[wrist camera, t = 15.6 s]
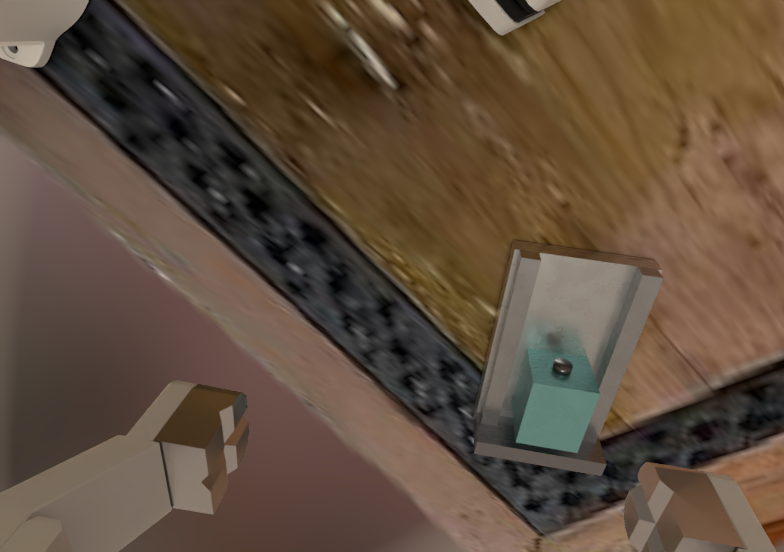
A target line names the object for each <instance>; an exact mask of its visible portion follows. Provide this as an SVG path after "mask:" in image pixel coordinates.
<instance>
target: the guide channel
mask: <svg viewBox="0 0 784 552" xmlns="http://www.w3.org/2000/svg"><path fill="white" fill-rule="evenodd" d="M661 272H662V269H661V268H660V266H659V265H658V264H657V262H656V261H655V260H654V259H647V258H640V257H633V256H626V255H619V254H612V253H605V252H598V251H590V250H583V249H576V248H569V247H562V246H555V245H548V244H541V243H534V242H527V241H519V240H513V242H512V247H511V251H510V255H509V260H508V264H507V268H506V273H505V277H504V281H503V286H502V290H501V294H500V298H499V303H498V307H497V311H496V316H495V320H494V324H493V329H492V333H491V337H490V342H489V346H488V350H487V355H486V359H485V363H484V368H483V372H482V376H481V381H480V385H479V389H478V394H477V398H476V402H475V406H474V454H480V455H485V456H491V457H497V458H502V459H508V460H514V461H519V462H525V463H531V464H536V465H542V466H548V467H553V468H559V469H565V470H570V471H576V472H582V473H587V474H593V475H599V476H602V473H603V471H604V469H605V467H606V461H605V458H604V454H603V451H602V448H601V444H600V441H599V438H598V437H599V435H600V432H601V430H602V427H603V425H604V422H605V420H606V418H607V415H608V413H609V410H610V408H611V405H612V403H613V400H614V398H615V396H616V393H617V391H618V388H619V386H620V383H621V381H622V379H623V376H624V374H625V371H626V369H627V366H628V364H629V361H630V359H631V357H632V354H633V352H634V349H635V347H636V344H637V342H638V339H639V337H640V335H641V332H642V330H643V327H644V325H645V322H646V320H647V318H648V315H649V313H650V310H651V308H652V305H653V303H654V300H655V298H656V296H657V293H658V291H659V288H660V286H661V283H662V281H663V279H664V278H663V276H662V275H661ZM527 348H533V349H539V350H546V351H552V352H558V353H565V354H571V355H577V356H584V357H588V360H589V362H590V365H591V368H592V371H593V374H594V377H595V380H596V383H597V386H598V389H599V392H600V396H599V398H598V401H597V404H596V406H595V409H594V411H593V414H592V416H591V419H590V422H589V424H588V427H587V429H586V432H585V434H584V437H583V440H582V442H581V445H580V447H579V450H578V453H574V452H568V451H563V450H557V449H551V448H545V447H539V446H534V445H528V444H522V443H516V441H515V432H514V422H513V413H512V401H513V397H514V394H515V390H516V386H517V383H518V379H519V376H520V372H521V368H522V365H523V361H524V358H525V354H526V350H527Z"/></svg>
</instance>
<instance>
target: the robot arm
mask: <svg viewBox="0 0 784 552" xmlns="http://www.w3.org/2000/svg"><path fill="white" fill-rule="evenodd" d="M88 1H89V0H0V58H1V59H4V60H7V61H10V62H13V63H16V64H19V65H22V66H25V67H43V66H44V65H45V64H46V63H47V62H48V60H49V58H50V55H51V53H52V50H53V47H54V44H55V41H56V40H57V38H58V37H59V36H60V35H61V34H62V33H64V32H65V31H66V30H67V29H69V28H70V27H71V26H72V25H73V24H74V23H75V22H76V21H77V20H78V19H79V18H80V16H81V15H82V13H83V12H84V10H85V8H86V6H87V4H88ZM15 46H17V48H18V51H17V50H16V48H15ZM246 408H247V399H246V395H245V394H244V393H241V392H236V391H231V390H226V389H221V388H216V387H211V386H206V385H201V384H193V383H188V382H183V381H179V380H175V381H174V382H171V383H170V384H168V386H167V387H166V388H165V389H164V391H162V393H161V394H160V395H159V396H158V398H157V399H156V400H155V401H154V402H153V404H152V405H151V406H150V407H149V409H148V410H147V411H146V412H145V413H144V415H143V416H142V417H141V418H140V419H139V421H138V422H137V423H136V424H135V425H134V427H133V428H132V429H131V430H130V431H129V433H128V434H127V435H126V436H121V435H118V436H116V437H114V438H112V439H110V440H107V441H105V442H104V443H102V444H99V445H97V446H95V447H93V448H91V449H89V450H87V451H85V452H83V453H81V454H79V455H77V456H75V457H73V458H71V459H69V460H67V461H65V462H63V463H61V464H59V465H57V466H55V467H53V468H50V469H48V470H47V471H44V472H43V473H40V474H38V475H37V476H34V477H32V478H30V479H28V480H26V481H24V482H22V483H20V484H18V485H16V486H14V487H12V488H10V489H8V490H6V491H4V492H2V493H0V552H118V551H120V550H121V549H122V548H123V547H125V546H126V545H127V544H129V543H130V542H131V541H133V540H134V539H135V538H136V537H138V536H139V535H140V534H142V533H143V532H144V531H146V530H147V529H148V528H149V527H151V526H152V525H153V524H155V523H156V522H157V521H158V520H160V519H161V518H162V517H164V516H165V515H166V514H167V513H169V512H170V511H171V510H172V508H177V509H183V510H190V511H196V512H202V513H208V514H214V512H215V510H216V508H217V507H218V505H219V503H220V501H221V499H222V497H223V495H224V493H225V491H226V489H227V487H228V477H227V474H228V473H230V472H232V471H233V470H235V469H236V468H238V466H239V464H240V462H241V460H242V458H243V456H244V452H245V449H246V445H247V442H248V434H249V425H248V422H247V420H246V419H245V418H244V417H243V414H244V412H245V410H246ZM638 478H639V481H640V484H641V485H639V486H637V487H635V488H633V489H631V490H630V491H629V494H628V496H627V498H626V501H625V507H624V523H625V529H626V533H627V536H628V540H629V541H630V542H631V543H632V544H633V545H634V547H635V548H636V549H637V550H638V551H639V552H776V550H775V548H774V547H773V545H772V543H771V541H770V540H769V538H768V536H767V534H766V533H765V531H764V529H763V528H762V526H761V524H760V522H759V521H758V519H757V517H756V515H755V514H754V512H753V510H752V508H751V507H750V505H749V503H748V502H747V500H746V498H745V496H744V495H743V493H742V491H741V489H740V488H739V486H738V484H737V482H736V481H735V480H734V479H733V478H732V477H730V476H729V475H724V474H718V473H712V472H705V471H698V470H693V469H687V468H680V467H674V466H668V465H662V464H656V463H650V462H647V463H645V464H644V465H643V466H642V467H641V469H640V471H639V473H638Z"/></svg>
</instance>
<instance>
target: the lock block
mask: <svg viewBox="0 0 784 552" xmlns="http://www.w3.org/2000/svg"><path fill="white" fill-rule="evenodd" d="M599 396H600V392H599V389H598V386H597V383H596V380H595V377H594V374H593V371H592V368H591V365H590V362H589V360H588V357H584V356H577V355H571V354H565V353H558V352H552V351H546V350H539V349H533V348H527V350H526V354H525V358H524V361H523V365H522V368H521V372H520V376H519V379H518V383H517V386H516V390H515V394H514V397H513V401H512V413H513V422H514V432H515V441H516V443H522V444H528V445H534V446H539V447H545V448H551V449H557V450H563V451H568V452H574V453H578V450H579V447H580V445H581V442H582V440H583V437H584V434H585V432H586V429H587V427H588V424H589V422H590V419H591V416H592V414H593V411H594V409H595V406H596V404H597V401H598V398H599Z"/></svg>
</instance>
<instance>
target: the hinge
mask: <svg viewBox="0 0 784 552" xmlns="http://www.w3.org/2000/svg"><path fill="white" fill-rule="evenodd" d="M468 1H469V2H470V3H471V4H472V5H473V7H474V8H475V9H476V10H477V11H478V12H479V14H480V15H481V16H482V17H483V18H484V19H485V21H486V22H487V23H488V24H489V25H490V26H491V27H492V28H493V30H494V31H495V32H497V33H498V34H500V35H505V34H507V33H509V32H511V31H513V30H515V29H517V28H519V27H521V26H523V25H524V24H526V23H528V22H530V21H532V20H534V19H536V18H537V17H539V16H541V15H543V14H545V12H544V10H543V9H545V8H547V7H549V6H551V5H553V4H555V3H557V2H559V1H561V0H468Z"/></svg>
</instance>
